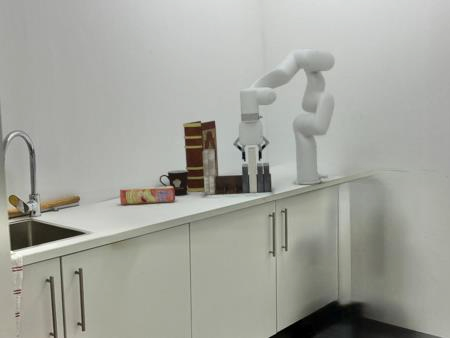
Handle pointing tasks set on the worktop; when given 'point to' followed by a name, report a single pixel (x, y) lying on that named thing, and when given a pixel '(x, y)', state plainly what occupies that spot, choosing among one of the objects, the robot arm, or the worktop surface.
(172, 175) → the coffee mug
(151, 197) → the snack package
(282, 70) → the robot arm
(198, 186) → the decorative book
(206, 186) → the book rack
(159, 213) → the worktop surface
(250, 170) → the ivory book
